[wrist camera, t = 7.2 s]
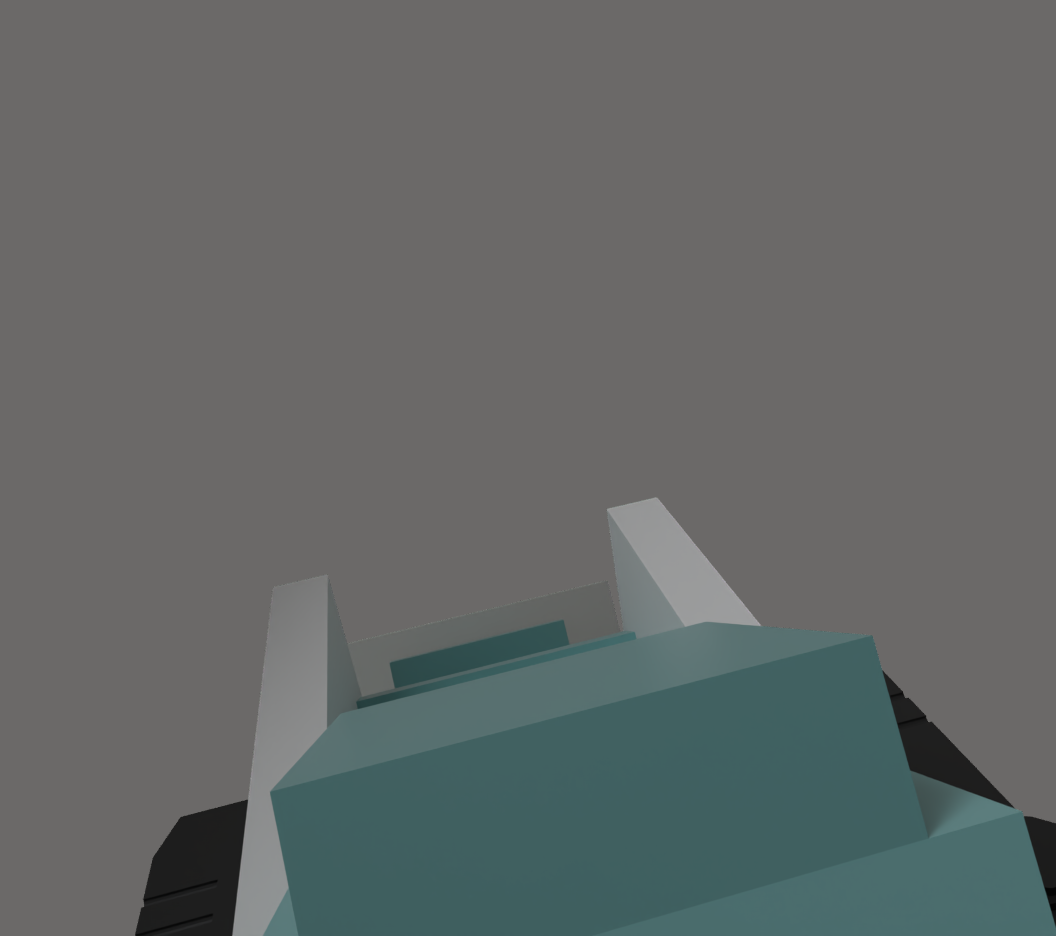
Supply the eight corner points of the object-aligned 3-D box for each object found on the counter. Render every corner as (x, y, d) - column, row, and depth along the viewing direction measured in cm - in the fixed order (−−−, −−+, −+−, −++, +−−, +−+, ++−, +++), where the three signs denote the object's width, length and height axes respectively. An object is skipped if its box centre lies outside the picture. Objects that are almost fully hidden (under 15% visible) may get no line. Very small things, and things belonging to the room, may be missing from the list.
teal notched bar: (1214, 1472, 4) (963, 612, 5) (343, 1817, 4) (157, 820, 4) (553, 724, 30) (524, 601, 30) (430, 756, 29) (403, 631, 30)
